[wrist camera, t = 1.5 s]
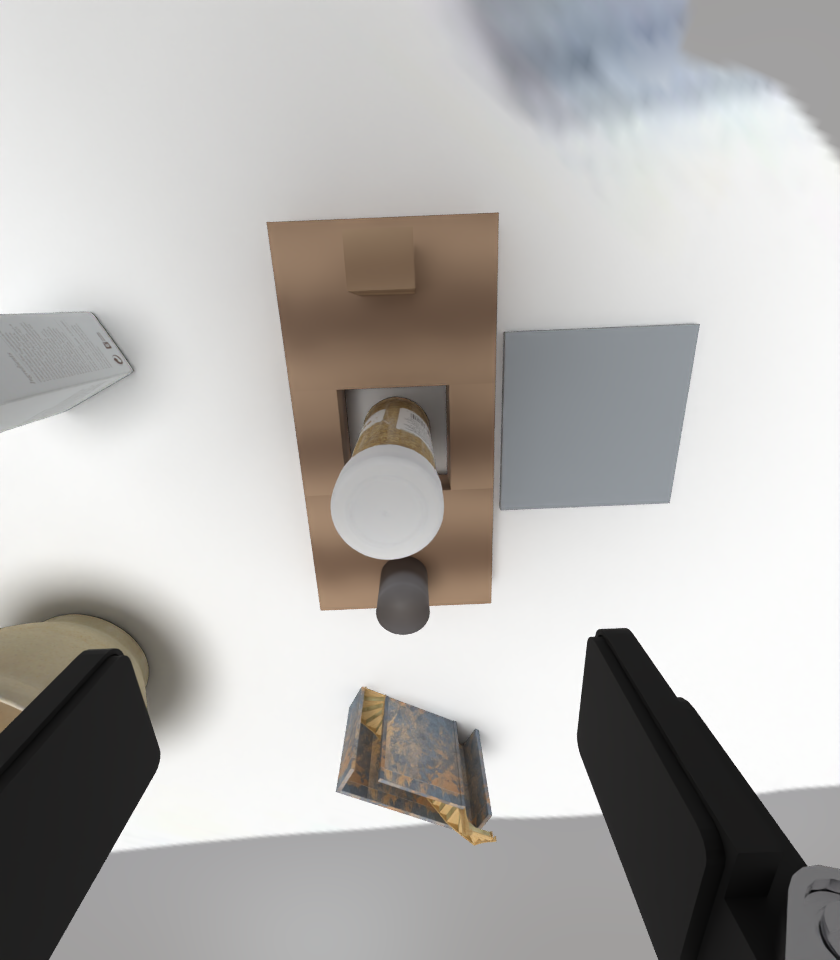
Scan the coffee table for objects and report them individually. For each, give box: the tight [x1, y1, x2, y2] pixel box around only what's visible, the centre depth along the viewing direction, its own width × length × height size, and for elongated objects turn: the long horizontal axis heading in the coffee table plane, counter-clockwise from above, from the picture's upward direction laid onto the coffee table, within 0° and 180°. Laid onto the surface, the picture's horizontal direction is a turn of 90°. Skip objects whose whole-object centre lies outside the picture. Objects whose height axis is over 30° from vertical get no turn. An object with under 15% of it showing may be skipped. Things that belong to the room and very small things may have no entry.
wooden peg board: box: [267, 213, 499, 635], centre depth 26 cm, size 24×12×8 cm, turn 2°
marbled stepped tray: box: [336, 687, 496, 845], centre depth 35 cm, size 11×3×10 cm, turn 63°
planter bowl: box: [0, 614, 149, 733], centre depth 31 cm, size 16×16×11 cm
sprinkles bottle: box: [331, 397, 444, 560], centre depth 24 cm, size 5×5×14 cm
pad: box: [499, 324, 700, 510], centre depth 30 cm, size 12×12×1 cm
